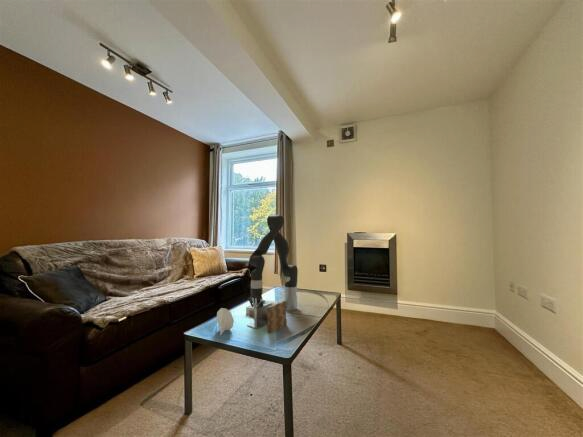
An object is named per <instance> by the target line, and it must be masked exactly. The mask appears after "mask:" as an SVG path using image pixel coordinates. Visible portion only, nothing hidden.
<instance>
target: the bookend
mask: <svg viewBox="0 0 583 437" xmlns="http://www.w3.org/2000/svg"><path fill="white" fill-rule="evenodd" d="M269 306H271V303H267V304H264V305H261V306H259V307H256V308H254V317H253V318H254V319H253V322H251V323H249V324H246V326H247V327H249V328H252V329H255V330H257V329H260V328H262V327H264V326H266V325H267V311H268V307H269Z"/></svg>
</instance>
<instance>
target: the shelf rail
mask: <svg viewBox="0 0 583 437" xmlns="http://www.w3.org/2000/svg"><path fill="white" fill-rule="evenodd" d="M249 317H252V318H254V310H250V315H249ZM287 324H288V321H287V318H286V319H285V326H284V327H287Z"/></svg>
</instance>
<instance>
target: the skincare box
mask: <svg viewBox="0 0 583 437" xmlns="http://www.w3.org/2000/svg"><path fill="white" fill-rule="evenodd" d="M264 300H265V303H264V304H267V303H271V306H272V305H274V304H277V303H279V302H280V301H276V300H275V301H273V300H267V299H264ZM264 304H263V305H264ZM250 310H254V307H252V306H251V304H250V305H248V306H246V307H245V314H246V315H249V316H250Z"/></svg>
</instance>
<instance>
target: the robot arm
mask: <svg viewBox="0 0 583 437" xmlns="http://www.w3.org/2000/svg"><path fill="white" fill-rule="evenodd" d="M266 223H267V224H266V225H267V227H268V230H269V231H268V233H267V234H265V235H264V236H263V238H262V239H261V240H260V242H259V243H258V246H257V248H255V250H254V251H253V252H252V253H251V255H250V257H249V259H248V264H249V265H250V266H251V267H255V269H254V270H252V271H251V274H250V276H251V278H250V279H251V280H250V297H248V302H249V304H250V305H251V306H252V307H254V308H256V307H259V306H261V305H263V304H264V303H265V300H266V299H263V288H264V287H263V273H264V272H263V271H264V268H265V264H266V262H265V261H266V259H265V258H264V256H265V255H266V254H267V253H268V251H269V248H270V246H271V245H272V243H273V242H274V246H275V250H276V253H277V255H278V259H279V263H280V268H281V272H282V275H283V276H284V277H287V278H290V279H289V280H287V281H285V282H284V301H286V311H288V312H290V311H291V312H293V311H296V310H297V309H298V294H297V291H298V290H297V289H298V288H297V284H298V276H299V275H298V271H299V270H298V267H297V265H295V264H289V262H288V256H289V253H290V247H289V244H288V241H287V240H286V238H285V237H284V236H283V234H282V233H281V232H280V231H281V229H283V228H282V227H283V226H284V224H285V219H284V217H283V215H280V214H270V215H269V216H267V219H266Z"/></svg>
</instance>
